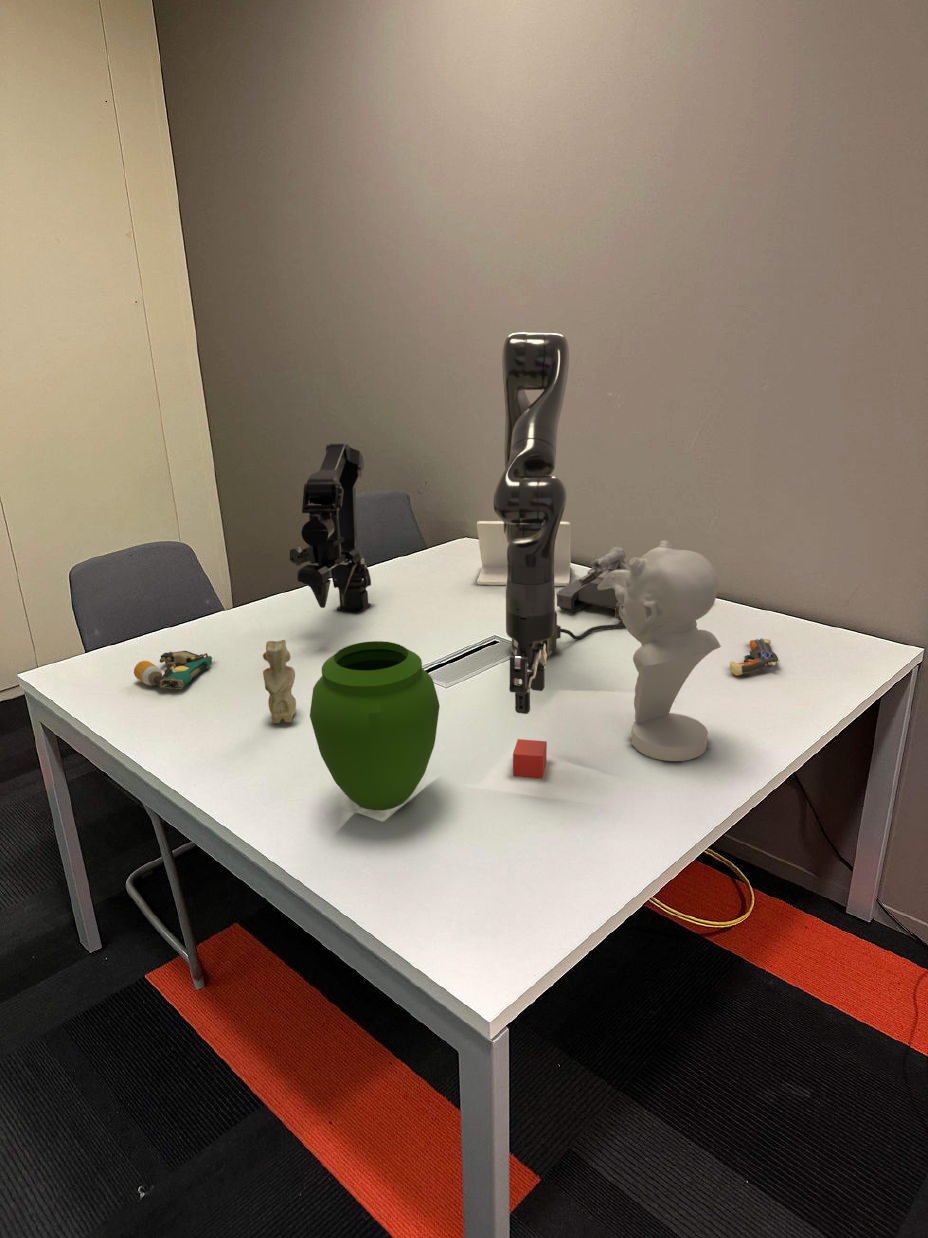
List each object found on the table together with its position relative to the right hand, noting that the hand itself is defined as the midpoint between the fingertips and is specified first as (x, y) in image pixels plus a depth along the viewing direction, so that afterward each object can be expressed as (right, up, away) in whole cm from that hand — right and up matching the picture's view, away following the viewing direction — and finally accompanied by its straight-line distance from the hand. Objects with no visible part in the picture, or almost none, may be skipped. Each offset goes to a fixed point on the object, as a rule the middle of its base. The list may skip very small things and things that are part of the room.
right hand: (530, 700), depth 137 cm
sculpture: (-45, -6, +24) cm, 51 cm away
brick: (0, -12, +5) cm, 13 cm away
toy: (+28, +17, +78) cm, 84 cm away
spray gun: (-71, +1, +44) cm, 84 cm away
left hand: (-41, +17, +57) cm, 72 cm away
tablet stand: (+6, +25, +102) cm, 106 cm away
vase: (-24, -15, -2) cm, 28 cm away
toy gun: (+50, +4, +43) cm, 66 cm away
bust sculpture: (+22, -8, +13) cm, 27 cm away
